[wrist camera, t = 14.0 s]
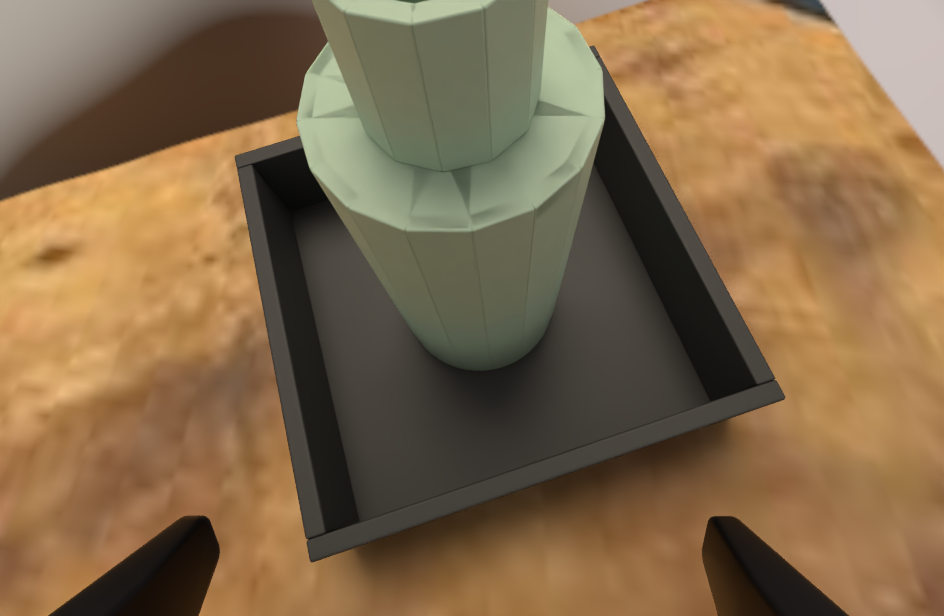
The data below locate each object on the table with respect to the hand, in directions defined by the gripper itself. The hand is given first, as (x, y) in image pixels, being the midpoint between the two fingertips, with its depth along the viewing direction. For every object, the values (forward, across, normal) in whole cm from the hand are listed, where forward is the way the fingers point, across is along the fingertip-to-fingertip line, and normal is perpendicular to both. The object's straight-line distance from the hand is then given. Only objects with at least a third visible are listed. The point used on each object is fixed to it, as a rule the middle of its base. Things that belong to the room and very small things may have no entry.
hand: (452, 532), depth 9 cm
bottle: (+12, 0, +1) cm, 12 cm away
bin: (+12, 0, +1) cm, 12 cm away
